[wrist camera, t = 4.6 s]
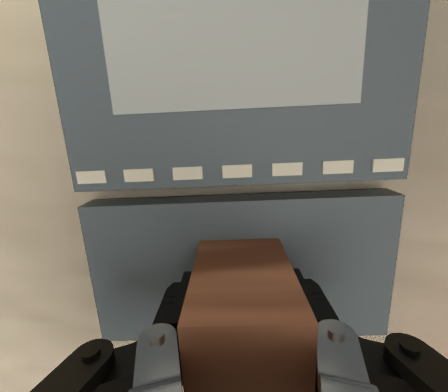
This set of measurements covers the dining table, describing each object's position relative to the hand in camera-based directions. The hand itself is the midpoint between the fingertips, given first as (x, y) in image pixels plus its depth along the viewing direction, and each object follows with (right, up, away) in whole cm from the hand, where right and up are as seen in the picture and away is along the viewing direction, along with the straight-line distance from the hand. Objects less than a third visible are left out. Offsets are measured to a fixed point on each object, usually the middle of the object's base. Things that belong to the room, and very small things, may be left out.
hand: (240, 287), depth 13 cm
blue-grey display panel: (0, +12, 0) cm, 12 cm away
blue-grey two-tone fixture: (0, +1, +3) cm, 3 cm away
